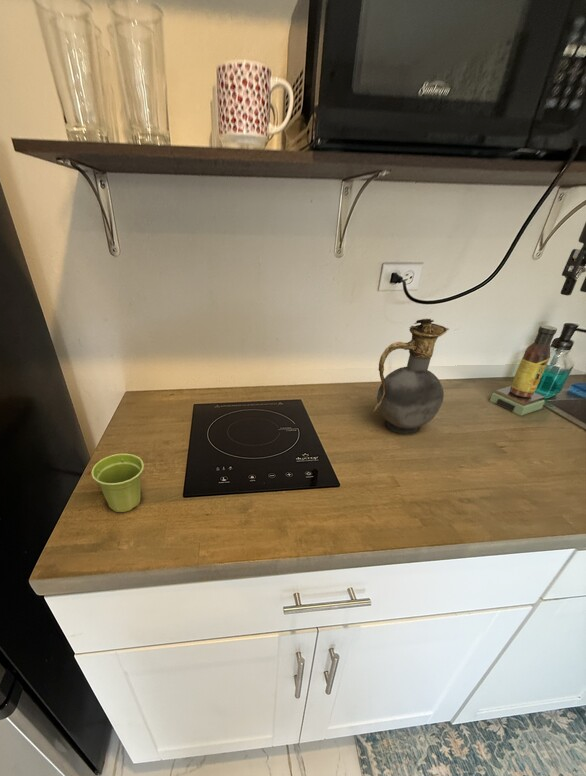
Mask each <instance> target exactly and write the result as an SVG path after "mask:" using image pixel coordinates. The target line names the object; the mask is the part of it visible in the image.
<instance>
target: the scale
mask: <svg viewBox="0 0 586 776" xmlns="http://www.w3.org/2000/svg"><path fill="white" fill-rule="evenodd" d="M489 402H491V403H493V404H496V405H498V406H499V407H502V408H504V409H506V410H507V411H510V412H512V413H515V414H516V415H518V416H523V415H527V414H530V413H533V412H536V411H539V410H541V409H543V406H544V405H545V403H546V400H545V399H544V400H542V401H539V402H535V403H532V404H529V405H526V406H523V405H520V404H518V403H516V402H514V401H512V400H509V399H507V398H505V397H503V396H501V395H498V394H496V393H495V392H492V394H491V397H490V399H489Z"/></svg>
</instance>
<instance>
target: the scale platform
mask: <svg viewBox="0 0 586 776" xmlns="http://www.w3.org/2000/svg"><path fill="white" fill-rule="evenodd" d="M510 388H511V385H509V386H506V387H502V388H499V389H496V390H495V391H494V393H496V394H498V395H501V396H503V397H505V398H507V399H509V400H512V401H514V402H516V403H518V404H520V405H523V406H526V405H529V404H532V403H535V402H539V401H542V400H544V401H545V396H543V395H541V394H539V393H536V392H534V394H533V395H532V396H531V397H520V396H517V395H514V394H513V393H511V392H510Z"/></svg>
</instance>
